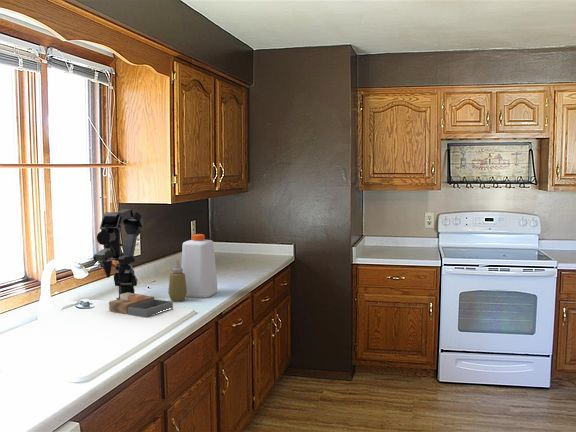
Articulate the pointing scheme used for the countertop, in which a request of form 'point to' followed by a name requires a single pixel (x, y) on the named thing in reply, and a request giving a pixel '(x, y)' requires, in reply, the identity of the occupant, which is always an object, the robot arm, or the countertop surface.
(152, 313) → the charcoal bin
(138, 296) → the terracotta tile
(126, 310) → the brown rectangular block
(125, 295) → the cream block
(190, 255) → the plastic bottle
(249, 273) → the countertop surface
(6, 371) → the countertop surface
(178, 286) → the squeeze bottle
